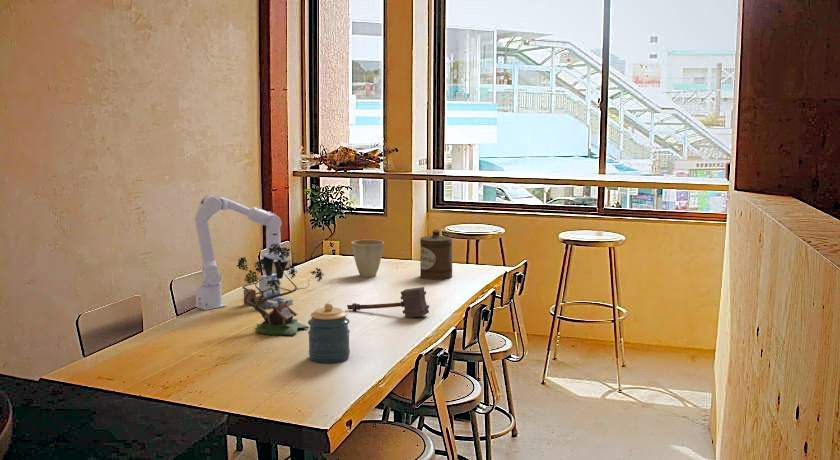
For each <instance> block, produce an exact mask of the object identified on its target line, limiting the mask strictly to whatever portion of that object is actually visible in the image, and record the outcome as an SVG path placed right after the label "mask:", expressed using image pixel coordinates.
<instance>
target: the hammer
mask: <svg viewBox="0 0 840 460" xmlns="http://www.w3.org/2000/svg"><path fill="white" fill-rule="evenodd" d="M400 294H401V296H400V300H401V301H400V302H390V303H389V302H388V303H375V304H359V303H352V304H346V305H347V306H346V307H347V309H348V310H352V311H353V312H355V311H361V310H369V309H370V310H371V309H385V308H386V309H387V308H398V307H402V308H404V309H403V310H402V314H403V315H404V319H409V318H417V317H424V316H425V315H427V314H429V313H430V310H429V308H430V305H429V304H428V303H427V301H426V300H427V299H426V294H427V291H425V287H424V286H421V287H414V288H413V287H412V288H405V289H404V290H402V291H400Z"/></svg>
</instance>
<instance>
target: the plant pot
mask: <svg viewBox="0 0 840 460" xmlns="http://www.w3.org/2000/svg"><path fill="white" fill-rule="evenodd" d="M384 245H385V242H384V241H383V240H379V239H359V240H358V239H357V240H353V241H351V248H352V252H353V259H354V262H355V266H356V268H357V272H358V274H359V276H360V277H361V278H374V277H376V276H377V273H378V271H379V268H380V264H381V261H382V256H383V251H384Z"/></svg>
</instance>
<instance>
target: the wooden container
mask: <svg viewBox="0 0 840 460" xmlns="http://www.w3.org/2000/svg"><path fill="white" fill-rule="evenodd" d="M440 233H441V231H440V230H439V229H433V230H432V233H431V234H432V235H427V236H422V237H420V243H419V244H420V259H419V260H420V261H419V262H420V263H419V264H420V269H419V270H420V273H419V274H420V278H422V279H425V280H437V281H438V280H447V279H451V278H452V277H453V246H452V245H453V243H452V242H453V239H452V237H451V236H446V235H445V236H444V235H441V234H440Z"/></svg>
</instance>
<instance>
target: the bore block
mask: <svg viewBox="0 0 840 460" xmlns="http://www.w3.org/2000/svg"><path fill="white" fill-rule="evenodd" d="M286 300H287V301H288V303H287V305H288V306H293V304H294V303H293V302H294V301H293V299H291V298H288V297H284V296H279V297H276V298H273V299H270V300H267V308H271V309H273V306H274V307H275V306H276V307H278V303H277V301H283V303H282V305H283V304H284V303H285V302H286Z"/></svg>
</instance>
